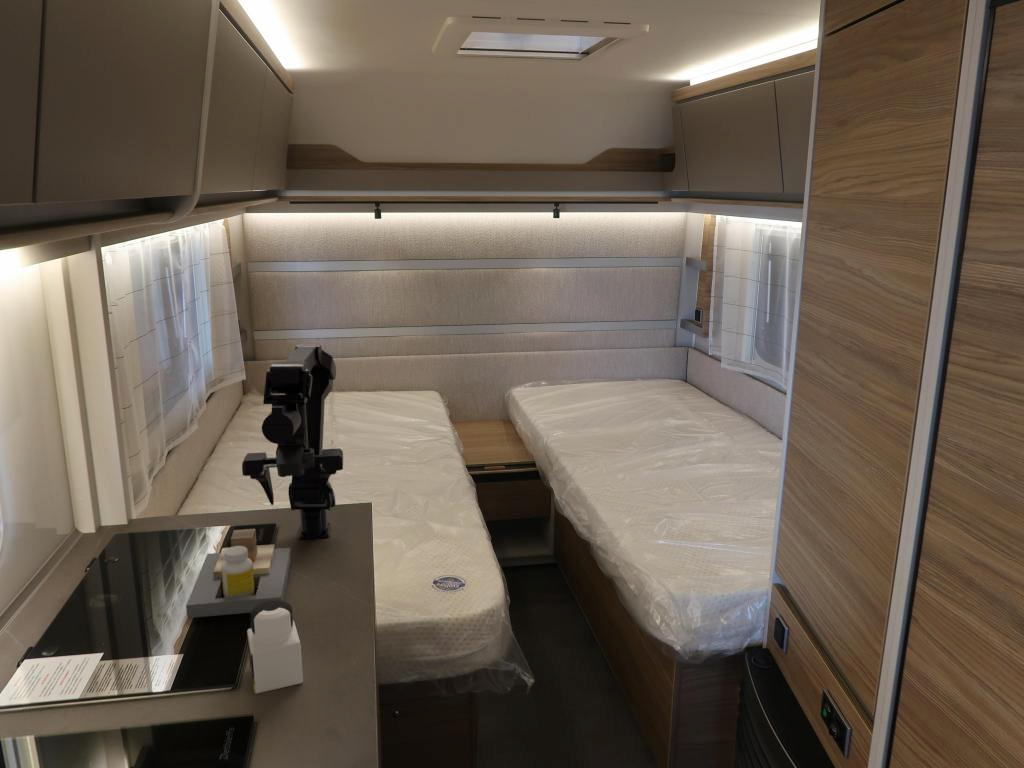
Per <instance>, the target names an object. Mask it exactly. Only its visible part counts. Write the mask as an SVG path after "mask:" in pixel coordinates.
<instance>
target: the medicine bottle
mask: <svg viewBox="0 0 1024 768" xmlns="http://www.w3.org/2000/svg"><path fill="white" fill-rule="evenodd" d="M249 614H250V622H251V623H250V625H251V626H250V627H251V628H248V629H247V630H246V635H247V645H248V656H249V667H250V673H251V674H250V675H251V681H252V686H253V692H254V694H261V693H265V692H270V691H273V690H279V689H283V688H287V687H292V686H296V685H300V684H302V683H303V681H304V677H303V662H302V648H301V640H300V637H299V634H298V630H297V627H296V624H295V621H294V619H293V607H292V605H291V603H289V602H287V601H285V600H284V601H282V600H270V601H266V602H263V603H260V604H258V605H257V606H255V607H254V608H253V610H252V611H251V613H249Z"/></svg>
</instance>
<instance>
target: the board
mask: <svg viewBox="0 0 1024 768" xmlns="http://www.w3.org/2000/svg"><path fill="white" fill-rule="evenodd" d="M220 553H221V552H213V553H207V554H206V556H205V558H204V562H203V564H202V565H201V569H200V571H199V574H198V576H197V578H196V580H195V583H194V585H193V588H192V591H191V593H190V595H189V598H188V599H187V602H186V605H185V607H186V614H187V615H186V616H187V619H193V618H204V617H205V618H206V617H215V616H225V615H226V616H227V615H238V614H248V613H249V614H251V611H252V610H253V608H254V607H255V606H257V605H258V604H260V603H263V602H266V601H270V600H282V601H285V597H286V590H287V589H286V588H287V584H288V579H289V575H290V568H291V561H292V551H291V547H283V548H282V547H280V548H279V547H278V548H275V552H274V556H273V560H272V564H271V569H270V573H266V574H254V575H253V576H254V589H255V590H256V593H255V595H252V596H240V597H229V598H224V597H222V594H223V582H222V577H216V578H214V573H213V572H214V569H215V566H216V564H217V561H218V559H219V556H220ZM256 588H258V589H256Z"/></svg>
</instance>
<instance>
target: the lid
mask: <svg viewBox="0 0 1024 768" xmlns="http://www.w3.org/2000/svg"><path fill="white" fill-rule="evenodd" d="M234 546H244V547H246V548H247V550H248V557H247V558H249V559H250V560H251V561H252V564H253V575H254V574H266V573H270V569H271V564H272V560H273V556H274V552H275V549H276V547H275V546H276V545H275V543H274V544H262V545H257V531H256V528H246V529H244V528H243V529H233V531H232V534H231V537H230V547H234ZM228 548H229V547H222V549H221V551H220V552H219V553H220V556H219V559H218V561H217V564H216V566H215V569H214V572H213V573H214V578H216V577H222V570H221V566H222V564H223V562H224V561H225V556H224V552H225V550H226V549H228Z"/></svg>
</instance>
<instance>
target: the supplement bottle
mask: <svg viewBox="0 0 1024 768" xmlns="http://www.w3.org/2000/svg"><path fill="white" fill-rule="evenodd" d="M227 548H228V549H226V550H225V552H224V556H225V561H224V562H223V564H222V566H221V570H222V582H223V592H222V594H223V598H229V597H240V596H252V595H256V593H255V592H256V589H254V576H253V564H252V561H251V560H250V559H249V558H247V557H248V550H247V548H246V547H244V546H234V547H231V546H230V547H227Z"/></svg>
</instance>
